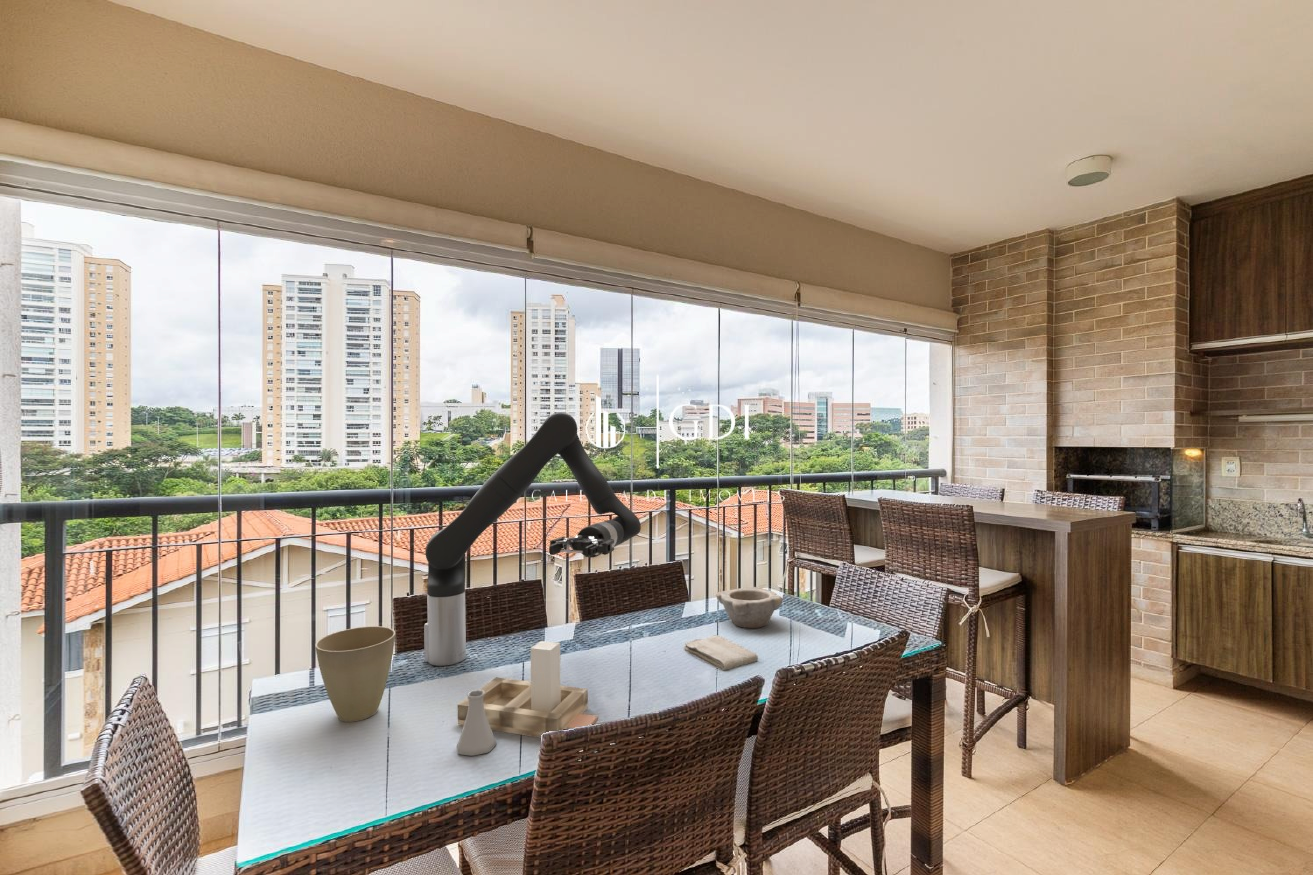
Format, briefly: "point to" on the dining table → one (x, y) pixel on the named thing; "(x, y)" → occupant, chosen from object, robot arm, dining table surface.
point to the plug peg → (545, 676)
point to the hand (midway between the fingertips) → (568, 551)
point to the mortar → (749, 605)
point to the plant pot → (356, 669)
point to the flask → (476, 728)
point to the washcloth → (720, 652)
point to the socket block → (529, 709)
